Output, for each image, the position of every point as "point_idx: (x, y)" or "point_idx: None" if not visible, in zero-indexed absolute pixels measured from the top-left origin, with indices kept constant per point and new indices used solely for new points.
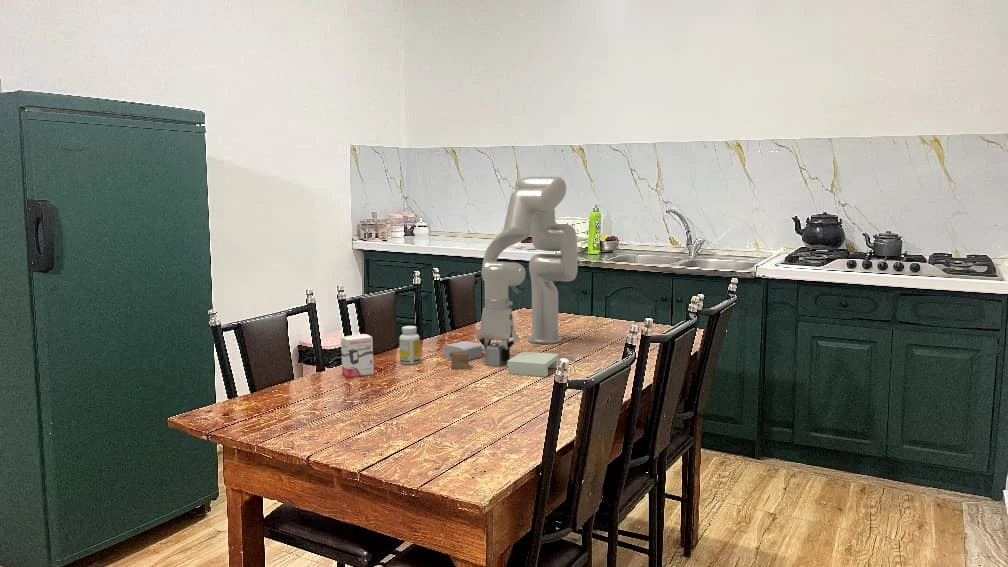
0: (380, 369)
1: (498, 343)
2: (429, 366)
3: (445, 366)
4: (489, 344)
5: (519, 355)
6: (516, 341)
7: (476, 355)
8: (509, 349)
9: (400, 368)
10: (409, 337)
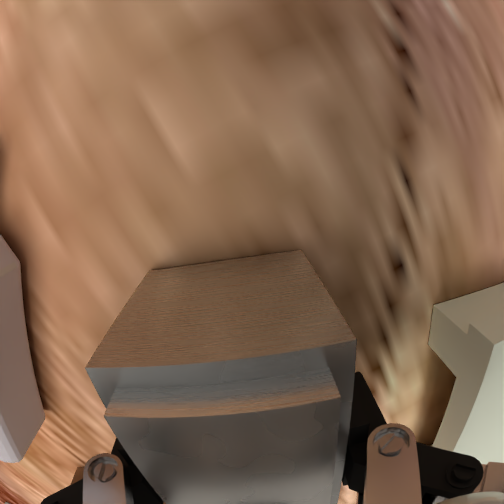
0: (5, 494)
1: (235, 490)
2: (37, 477)
3: (70, 477)
4: (135, 490)
5: (470, 442)
6: (501, 470)
7: (17, 330)
8: (385, 422)
9: (17, 490)
10: None
